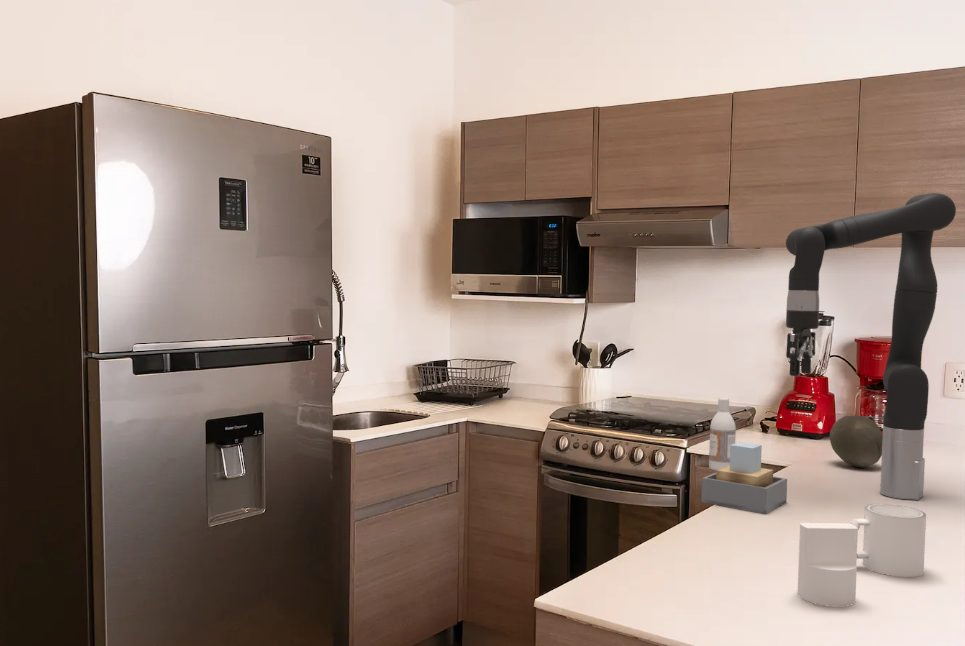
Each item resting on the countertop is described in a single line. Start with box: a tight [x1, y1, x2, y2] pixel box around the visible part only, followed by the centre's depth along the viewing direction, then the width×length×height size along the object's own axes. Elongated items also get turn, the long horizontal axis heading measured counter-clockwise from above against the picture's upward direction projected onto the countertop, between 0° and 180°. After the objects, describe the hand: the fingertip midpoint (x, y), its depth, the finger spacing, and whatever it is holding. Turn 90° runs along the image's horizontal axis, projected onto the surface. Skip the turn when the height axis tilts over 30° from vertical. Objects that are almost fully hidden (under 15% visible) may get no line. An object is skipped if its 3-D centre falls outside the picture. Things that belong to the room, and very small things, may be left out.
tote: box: [700, 471, 788, 515], centre depth 203 cm, size 16×14×6 cm
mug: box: [850, 503, 927, 578], centre depth 157 cm, size 14×10×11 cm
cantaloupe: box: [829, 415, 883, 469], centre depth 245 cm, size 14×14×15 cm
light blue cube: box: [730, 441, 763, 474], centre depth 202 cm, size 6×6×6 cm
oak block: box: [715, 465, 774, 488], centre depth 203 cm, size 10×10×7 cm
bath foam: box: [708, 397, 737, 471], centre depth 239 cm, size 7×7×20 cm
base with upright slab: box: [797, 522, 859, 607], centre depth 141 cm, size 9×9×12 cm
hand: (800, 374), depth 209 cm, fingers open, 8 cm apart
